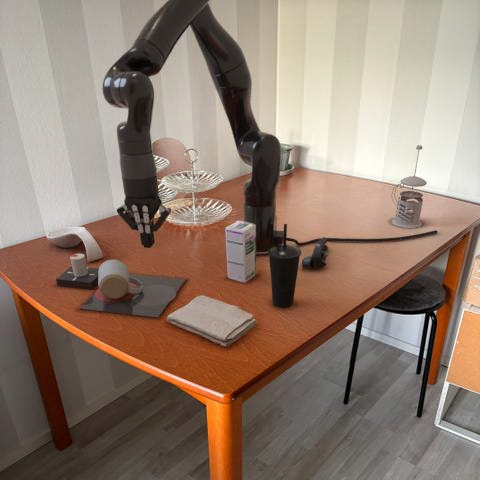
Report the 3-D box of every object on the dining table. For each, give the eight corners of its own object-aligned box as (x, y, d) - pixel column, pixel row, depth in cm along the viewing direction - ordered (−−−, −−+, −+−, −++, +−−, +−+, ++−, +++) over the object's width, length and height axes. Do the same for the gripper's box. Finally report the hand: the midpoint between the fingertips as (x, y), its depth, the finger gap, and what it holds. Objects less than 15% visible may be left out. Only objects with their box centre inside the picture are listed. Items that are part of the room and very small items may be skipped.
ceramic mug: (100, 302, 120) (95, 274, 116) (100, 287, 126) (96, 260, 122) (144, 298, 122) (141, 270, 118) (142, 283, 128) (139, 256, 124)
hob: (187, 280, 130) (187, 279, 130) (160, 318, 114) (160, 317, 113) (114, 273, 134) (114, 272, 134) (77, 309, 118) (77, 308, 118)
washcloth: (228, 350, 102) (227, 337, 101) (164, 324, 111) (163, 312, 110) (259, 325, 111) (260, 313, 109) (198, 303, 120) (197, 291, 118)
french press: (411, 230, 158) (425, 150, 145) (380, 221, 166) (391, 144, 153) (427, 223, 164) (442, 145, 151) (397, 214, 171) (409, 139, 158)
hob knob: (90, 271, 131) (86, 253, 128) (83, 277, 128) (80, 258, 125) (78, 270, 132) (74, 251, 129) (71, 276, 129) (67, 257, 126)
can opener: (324, 274, 132) (325, 255, 129) (298, 270, 134) (299, 251, 131) (336, 249, 146) (338, 231, 143) (313, 246, 148) (314, 228, 145)
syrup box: (245, 283, 128) (245, 230, 121) (226, 278, 131) (225, 226, 123) (256, 275, 132) (256, 223, 125) (238, 270, 135) (237, 219, 127)
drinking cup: (265, 296, 122) (266, 219, 111) (295, 294, 122) (299, 217, 112) (269, 312, 115) (270, 231, 105) (301, 310, 116) (306, 229, 105)
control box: (106, 275, 133) (105, 268, 132) (92, 289, 126) (90, 281, 125) (73, 272, 135) (71, 265, 134) (57, 285, 128) (55, 278, 127)
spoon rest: (42, 243, 153) (36, 221, 149) (76, 233, 160) (72, 212, 156) (78, 266, 138) (73, 243, 134) (115, 254, 145) (111, 231, 141)
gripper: (103, 176, 105) (115, 251, 114) (161, 178, 102) (169, 255, 112) (118, 167, 111) (129, 238, 120) (173, 169, 109) (180, 242, 118)
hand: (148, 246), depth 116 cm, fingers closed
